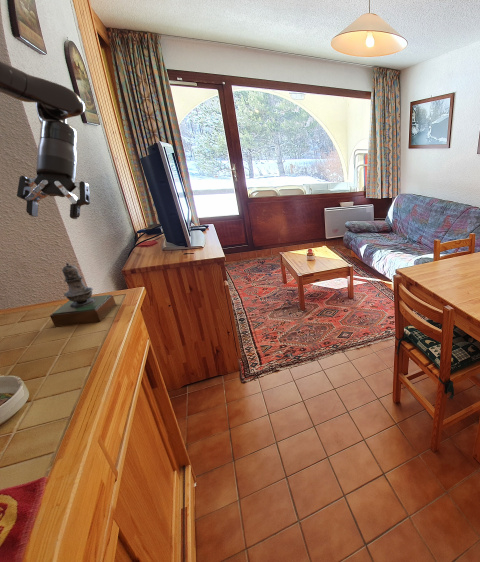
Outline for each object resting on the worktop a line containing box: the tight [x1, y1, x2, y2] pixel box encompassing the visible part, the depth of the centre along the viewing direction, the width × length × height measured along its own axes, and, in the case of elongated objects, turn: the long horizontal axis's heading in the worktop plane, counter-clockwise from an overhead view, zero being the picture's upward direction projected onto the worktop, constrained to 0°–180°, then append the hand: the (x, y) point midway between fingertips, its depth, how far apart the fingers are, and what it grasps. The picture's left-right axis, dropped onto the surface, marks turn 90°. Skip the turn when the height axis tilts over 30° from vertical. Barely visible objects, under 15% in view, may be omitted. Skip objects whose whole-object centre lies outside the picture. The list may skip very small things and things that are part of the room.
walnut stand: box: [49, 294, 117, 327], centre depth 86 cm, size 10×10×4 cm
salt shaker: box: [61, 262, 96, 308], centre depth 83 cm, size 6×6×12 cm
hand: (53, 217), depth 84 cm, fingers open, 8 cm apart
